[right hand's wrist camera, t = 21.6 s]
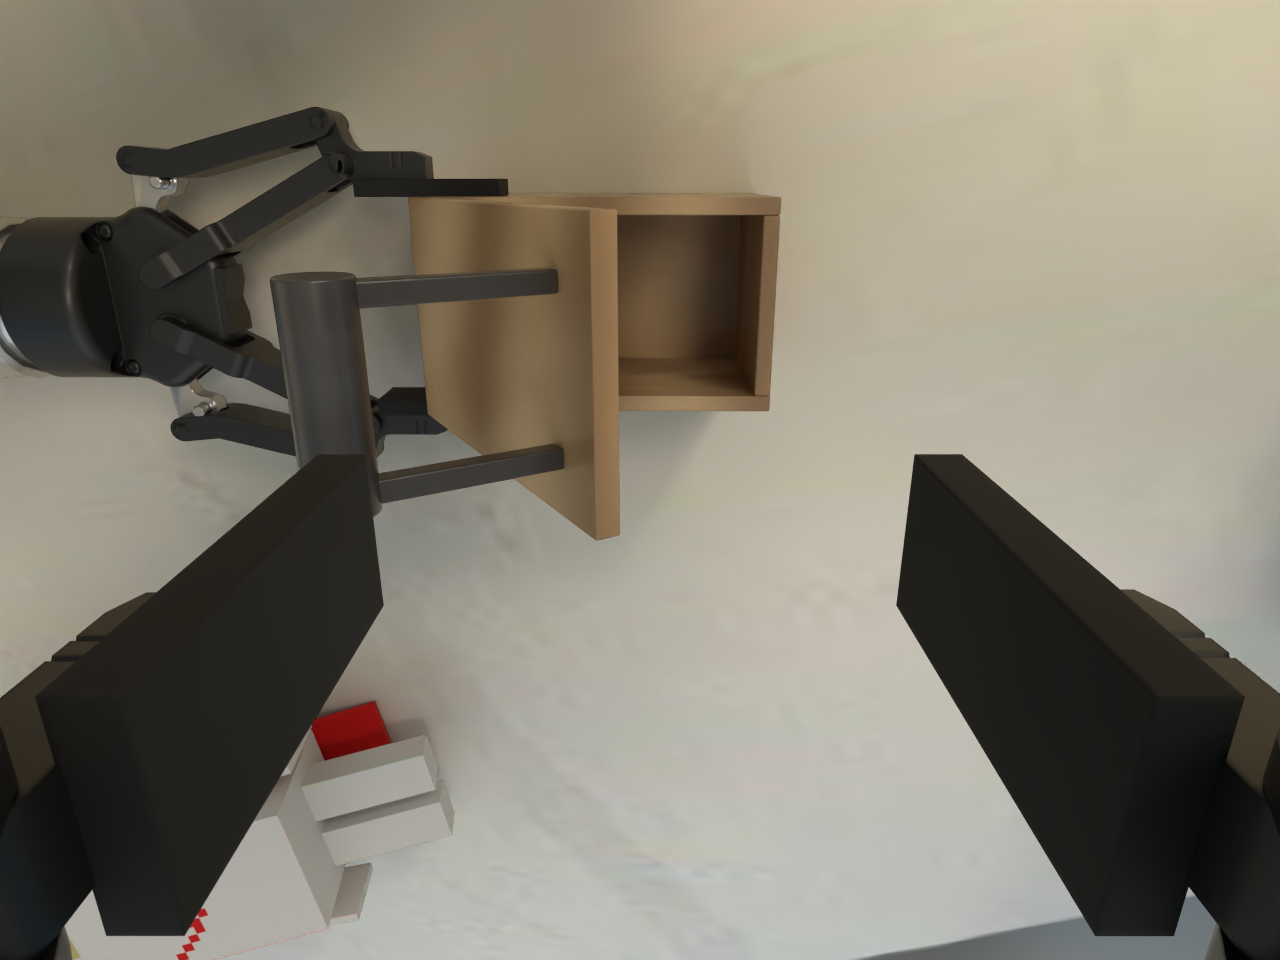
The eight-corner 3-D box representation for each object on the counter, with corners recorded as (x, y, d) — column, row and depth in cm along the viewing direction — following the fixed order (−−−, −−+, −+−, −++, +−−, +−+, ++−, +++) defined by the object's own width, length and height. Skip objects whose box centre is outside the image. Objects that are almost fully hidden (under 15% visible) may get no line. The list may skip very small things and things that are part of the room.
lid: (617, 209, 22) (275, 216, 18) (620, 535, 25) (332, 605, 21) (427, 197, 35) (206, 199, 31) (445, 412, 38) (247, 439, 34)
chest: (754, 193, 44) (781, 197, 35) (746, 367, 47) (769, 411, 38) (465, 193, 44) (420, 197, 35) (477, 366, 47) (438, 410, 39)
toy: (458, 925, 49) (-54, 1067, 47) (471, 779, 62) (67, 887, 60) (396, 761, 45) (-166, 909, 43) (424, 641, 58) (-11, 752, 56)
